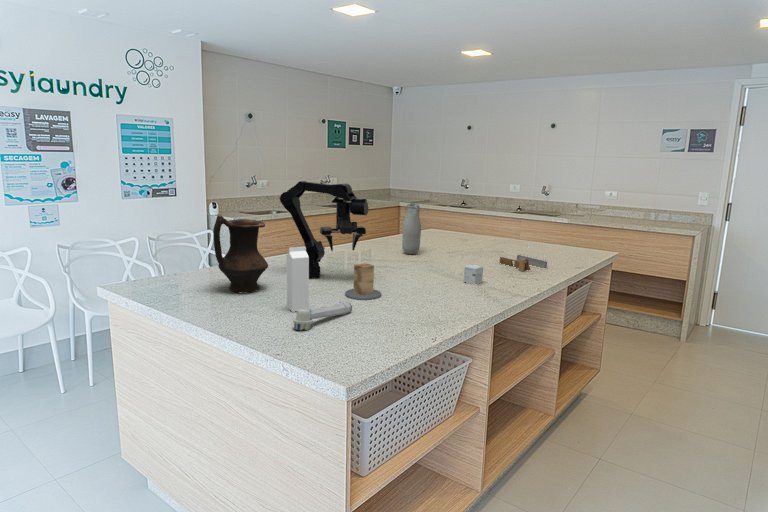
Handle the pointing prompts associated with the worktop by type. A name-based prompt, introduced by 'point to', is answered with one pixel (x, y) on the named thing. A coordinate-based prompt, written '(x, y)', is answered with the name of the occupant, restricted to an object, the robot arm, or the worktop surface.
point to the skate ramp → (523, 262)
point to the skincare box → (473, 274)
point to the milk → (297, 279)
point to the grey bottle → (411, 229)
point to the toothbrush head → (319, 314)
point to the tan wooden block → (363, 278)
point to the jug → (240, 253)
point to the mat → (356, 296)
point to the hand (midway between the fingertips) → (342, 250)
